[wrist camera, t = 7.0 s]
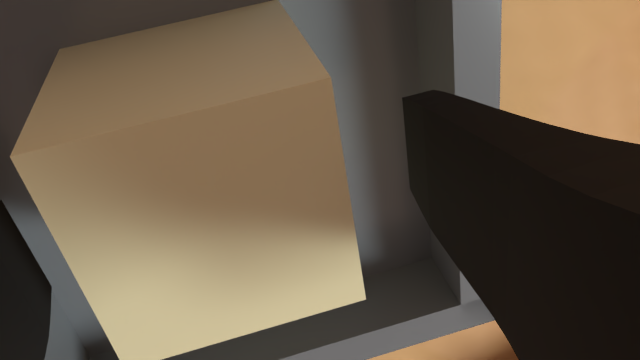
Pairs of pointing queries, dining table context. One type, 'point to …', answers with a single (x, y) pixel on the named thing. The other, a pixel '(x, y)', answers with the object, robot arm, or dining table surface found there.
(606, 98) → the dining table surface
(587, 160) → the robot arm
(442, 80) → the slate tray
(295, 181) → the cheese cube
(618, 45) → the dining table surface
